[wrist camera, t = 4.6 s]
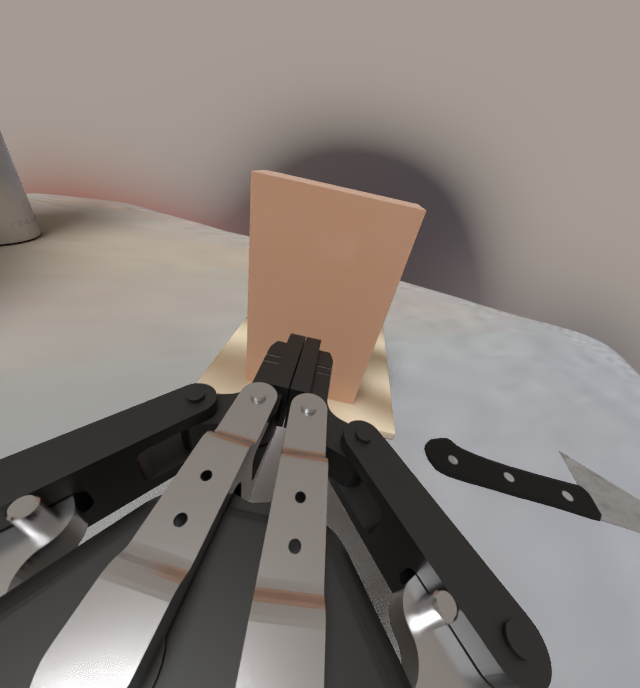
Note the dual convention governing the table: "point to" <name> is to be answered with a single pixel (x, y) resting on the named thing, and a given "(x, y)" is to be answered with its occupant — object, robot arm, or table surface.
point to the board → (367, 405)
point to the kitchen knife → (540, 484)
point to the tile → (324, 270)
